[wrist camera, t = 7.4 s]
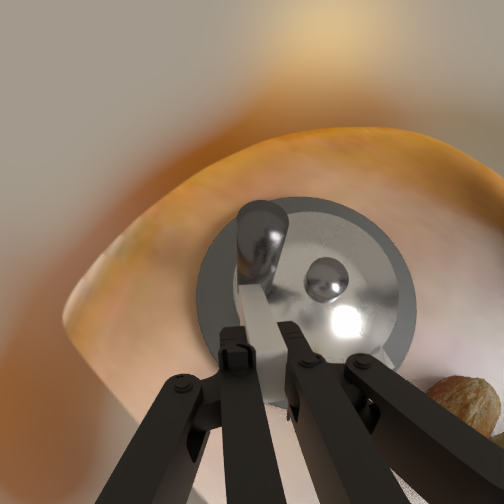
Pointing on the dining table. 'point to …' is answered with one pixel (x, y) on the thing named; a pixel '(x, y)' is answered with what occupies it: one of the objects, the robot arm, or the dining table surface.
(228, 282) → the base pad
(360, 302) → the flange plate
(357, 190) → the dining table surface
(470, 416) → the bread roll
